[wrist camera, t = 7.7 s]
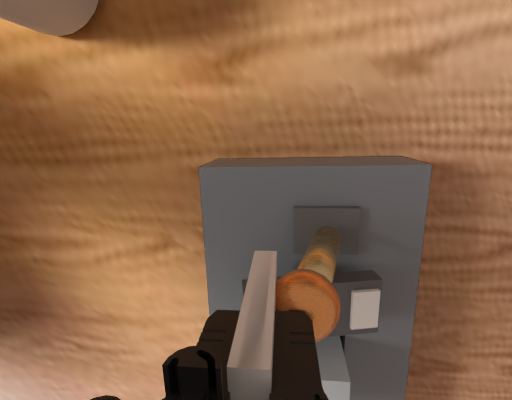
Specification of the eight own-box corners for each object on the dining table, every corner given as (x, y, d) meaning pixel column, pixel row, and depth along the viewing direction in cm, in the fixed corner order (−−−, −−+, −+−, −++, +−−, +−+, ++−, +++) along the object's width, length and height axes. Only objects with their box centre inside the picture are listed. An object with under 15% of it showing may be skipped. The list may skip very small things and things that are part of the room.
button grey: (277, 361, 24) (274, 435, 19) (277, 314, 23) (273, 376, 18) (333, 365, 24) (346, 442, 18) (335, 316, 23) (350, 382, 17)
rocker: (243, 330, 18) (245, 347, 17) (241, 279, 18) (243, 292, 16) (368, 319, 19) (380, 335, 18) (372, 269, 18) (384, 281, 17)
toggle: (306, 252, 19) (260, 350, 11) (307, 212, 18) (258, 285, 10) (350, 257, 18) (335, 368, 10) (352, 215, 17) (338, 298, 9)
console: (231, 401, 30) (215, 475, 23) (217, 158, 24) (191, 171, 18) (378, 413, 28) (403, 495, 22) (401, 155, 22) (444, 168, 16)
